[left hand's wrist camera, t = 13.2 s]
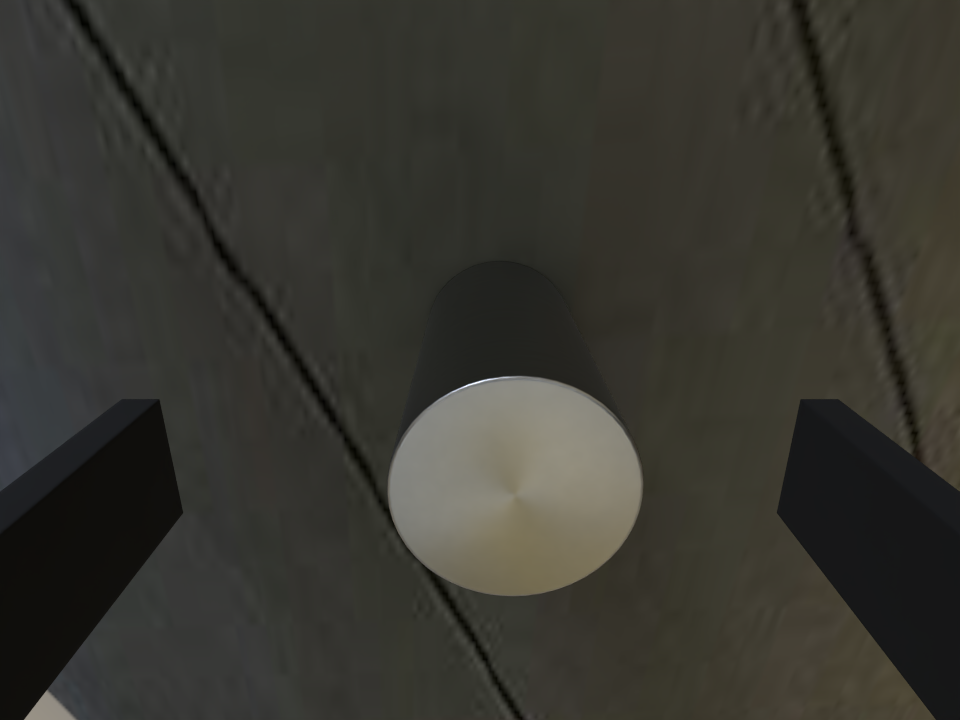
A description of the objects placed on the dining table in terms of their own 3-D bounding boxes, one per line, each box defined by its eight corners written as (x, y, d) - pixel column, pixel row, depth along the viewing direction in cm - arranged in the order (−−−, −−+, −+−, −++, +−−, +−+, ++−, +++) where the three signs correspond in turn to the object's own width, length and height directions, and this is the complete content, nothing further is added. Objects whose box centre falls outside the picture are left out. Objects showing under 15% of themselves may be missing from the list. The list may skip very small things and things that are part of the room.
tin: (596, 345, 24) (692, 518, 13) (483, 419, 25) (487, 635, 15) (516, 231, 23) (550, 322, 12) (399, 316, 24) (332, 472, 13)
